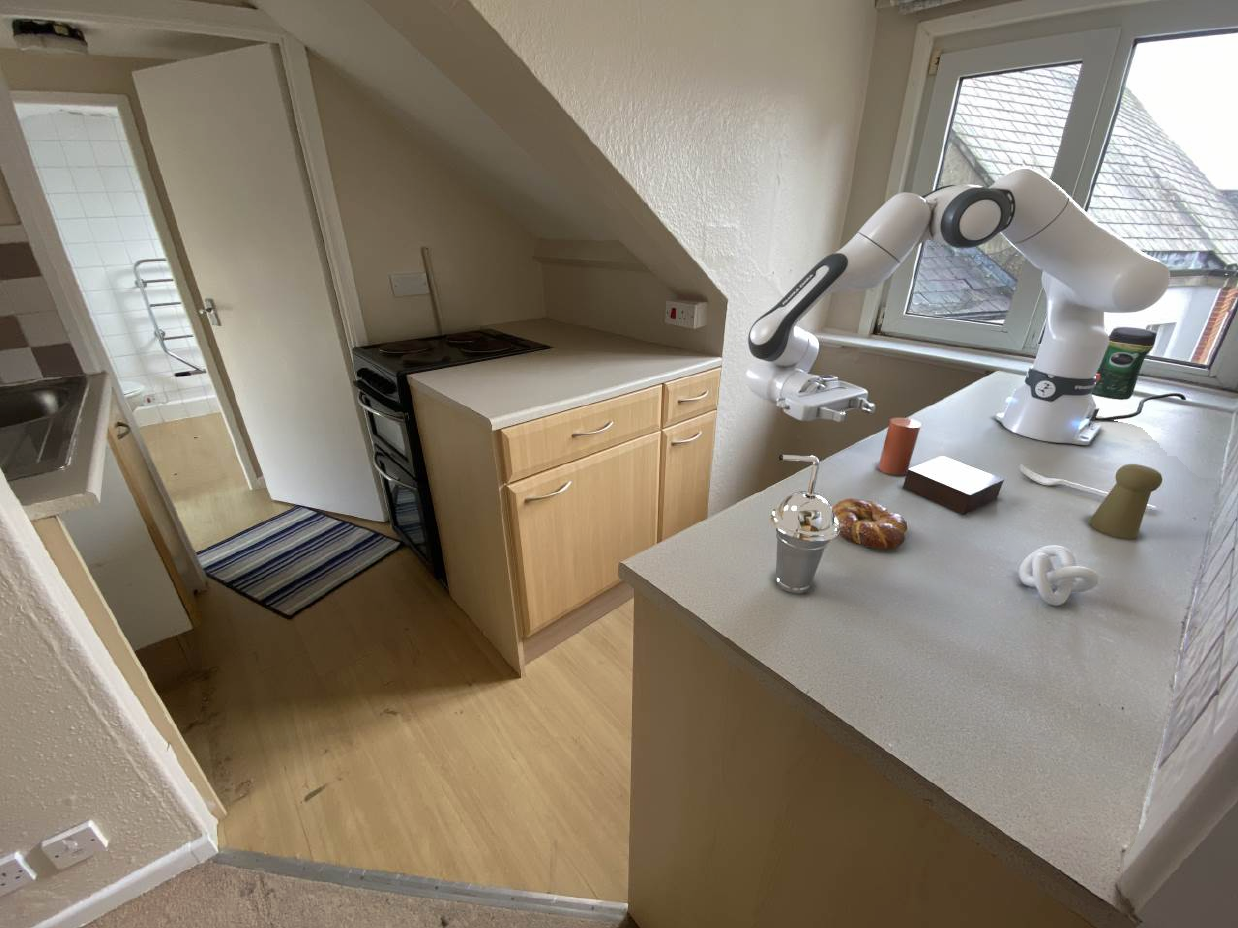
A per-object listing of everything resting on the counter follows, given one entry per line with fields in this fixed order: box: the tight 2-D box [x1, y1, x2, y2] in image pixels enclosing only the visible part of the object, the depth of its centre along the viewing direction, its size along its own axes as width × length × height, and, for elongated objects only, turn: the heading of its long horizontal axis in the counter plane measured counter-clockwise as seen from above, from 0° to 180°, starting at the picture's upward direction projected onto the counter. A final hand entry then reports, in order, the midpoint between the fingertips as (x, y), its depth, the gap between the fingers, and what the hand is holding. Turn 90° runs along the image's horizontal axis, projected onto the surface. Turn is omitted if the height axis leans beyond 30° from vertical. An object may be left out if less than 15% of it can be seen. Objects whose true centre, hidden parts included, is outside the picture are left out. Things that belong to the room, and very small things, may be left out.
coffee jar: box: [1091, 326, 1157, 401], centre depth 142 cm, size 10×8×19 cm
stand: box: [902, 455, 1005, 516], centre depth 94 cm, size 11×11×4 cm
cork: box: [1088, 463, 1163, 540], centre depth 83 cm, size 6×6×11 cm
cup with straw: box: [770, 454, 840, 595], centre depth 68 cm, size 8×9×20 cm
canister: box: [877, 417, 922, 477], centre depth 101 cm, size 5×5×10 cm
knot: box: [1018, 544, 1100, 607], centre depth 70 cm, size 8×8×6 cm
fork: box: [1018, 463, 1157, 511], centre depth 96 cm, size 3×20×2 cm, turn 47°
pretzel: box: [832, 497, 908, 550], centre depth 83 cm, size 12×11×4 cm
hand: (858, 413), depth 108 cm, fingers open, 8 cm apart
